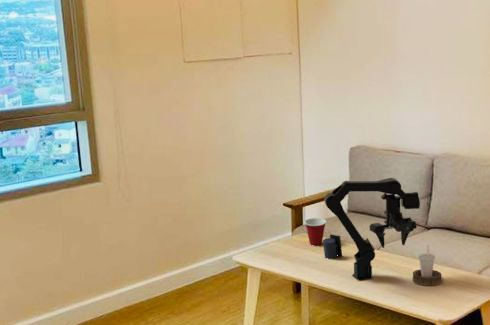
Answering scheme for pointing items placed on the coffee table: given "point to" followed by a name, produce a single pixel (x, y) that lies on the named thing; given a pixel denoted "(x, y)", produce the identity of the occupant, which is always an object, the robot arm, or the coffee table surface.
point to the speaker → (332, 246)
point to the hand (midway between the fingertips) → (393, 246)
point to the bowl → (425, 281)
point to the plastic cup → (315, 230)
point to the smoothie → (426, 264)
